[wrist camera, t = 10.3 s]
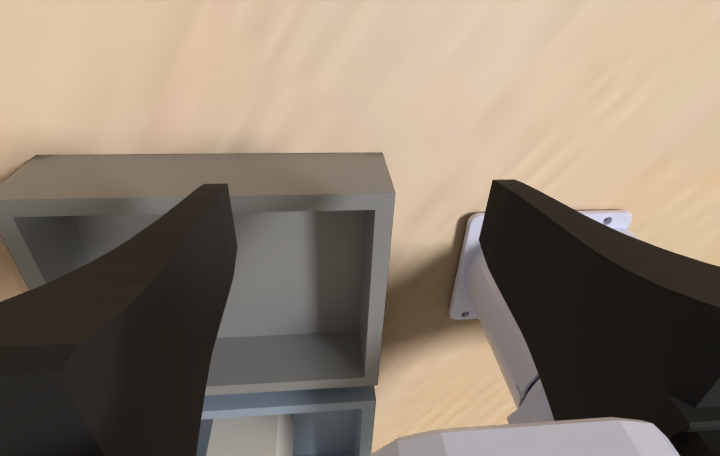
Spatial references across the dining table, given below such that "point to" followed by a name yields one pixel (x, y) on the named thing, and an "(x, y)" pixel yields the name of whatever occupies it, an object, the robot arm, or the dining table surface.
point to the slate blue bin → (304, 417)
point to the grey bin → (254, 252)
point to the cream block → (252, 436)
